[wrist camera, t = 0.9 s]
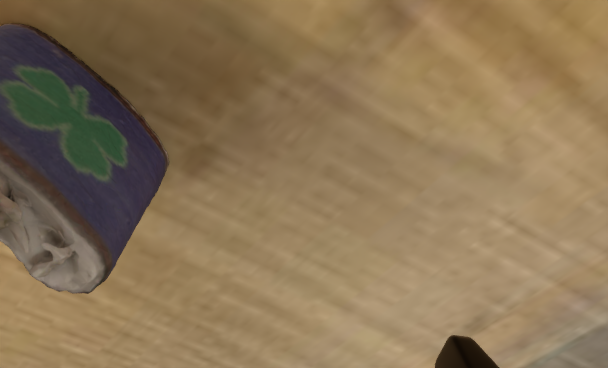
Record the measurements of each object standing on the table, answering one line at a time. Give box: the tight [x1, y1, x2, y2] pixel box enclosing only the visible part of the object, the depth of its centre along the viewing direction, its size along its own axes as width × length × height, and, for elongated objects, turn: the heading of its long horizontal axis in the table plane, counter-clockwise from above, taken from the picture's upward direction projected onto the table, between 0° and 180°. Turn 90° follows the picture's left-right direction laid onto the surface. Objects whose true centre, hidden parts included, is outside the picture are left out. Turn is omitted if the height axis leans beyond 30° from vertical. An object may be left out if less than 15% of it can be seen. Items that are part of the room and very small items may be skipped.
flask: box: [0, 24, 169, 294], centre depth 17 cm, size 9×3×11 cm, turn 39°
